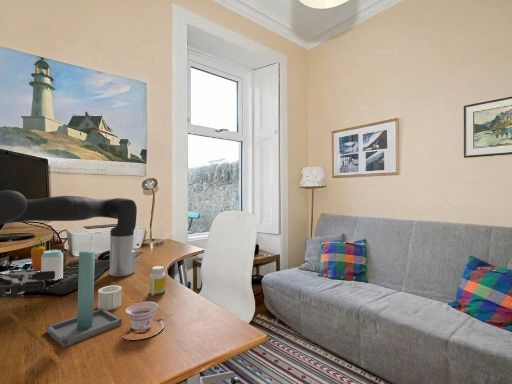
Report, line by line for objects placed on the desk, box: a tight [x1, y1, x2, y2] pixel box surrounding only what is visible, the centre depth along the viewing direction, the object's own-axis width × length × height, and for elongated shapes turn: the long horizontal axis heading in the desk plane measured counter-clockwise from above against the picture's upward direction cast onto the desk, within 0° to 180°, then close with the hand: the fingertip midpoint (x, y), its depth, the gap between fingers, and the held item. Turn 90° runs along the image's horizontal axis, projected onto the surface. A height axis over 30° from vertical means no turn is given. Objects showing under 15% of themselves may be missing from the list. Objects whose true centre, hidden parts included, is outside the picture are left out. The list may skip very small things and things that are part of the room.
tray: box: [45, 308, 123, 348], centre depth 74 cm, size 14×11×2 cm
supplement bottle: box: [149, 265, 167, 296], centre depth 100 cm, size 5×5×10 cm
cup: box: [97, 284, 123, 311], centre depth 88 cm, size 7×7×6 cm
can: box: [40, 249, 64, 280], centre depth 111 cm, size 7×7×12 cm
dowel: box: [76, 249, 96, 330], centre depth 74 cm, size 4×4×20 cm
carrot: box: [30, 237, 47, 272], centre depth 120 cm, size 5×5×15 cm
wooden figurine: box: [50, 235, 68, 268], centre depth 128 cm, size 7×6×15 cm
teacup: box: [119, 301, 166, 340], centre depth 76 cm, size 12×12×6 cm
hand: (50, 279), depth 70 cm, fingers open, 8 cm apart
